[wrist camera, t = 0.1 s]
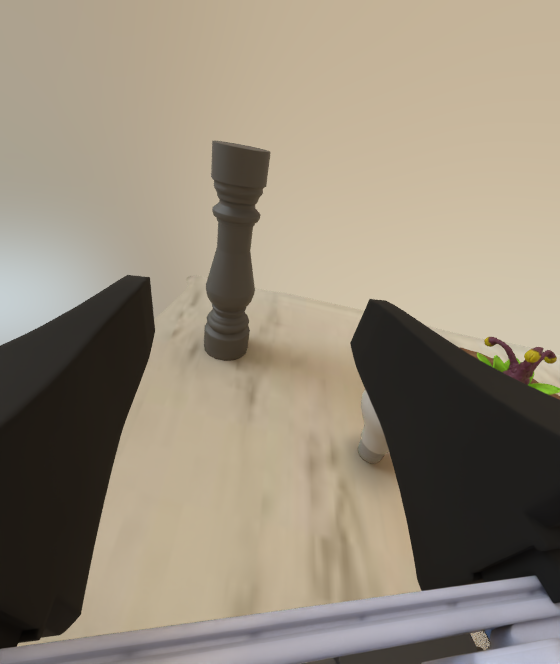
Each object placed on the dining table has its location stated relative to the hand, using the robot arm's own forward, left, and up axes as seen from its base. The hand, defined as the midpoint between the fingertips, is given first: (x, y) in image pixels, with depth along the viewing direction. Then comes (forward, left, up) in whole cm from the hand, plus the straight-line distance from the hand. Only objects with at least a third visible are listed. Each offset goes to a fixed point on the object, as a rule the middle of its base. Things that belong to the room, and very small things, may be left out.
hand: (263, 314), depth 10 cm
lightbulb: (+8, -15, -22) cm, 28 cm away
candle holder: (+26, 0, -22) cm, 34 cm away
